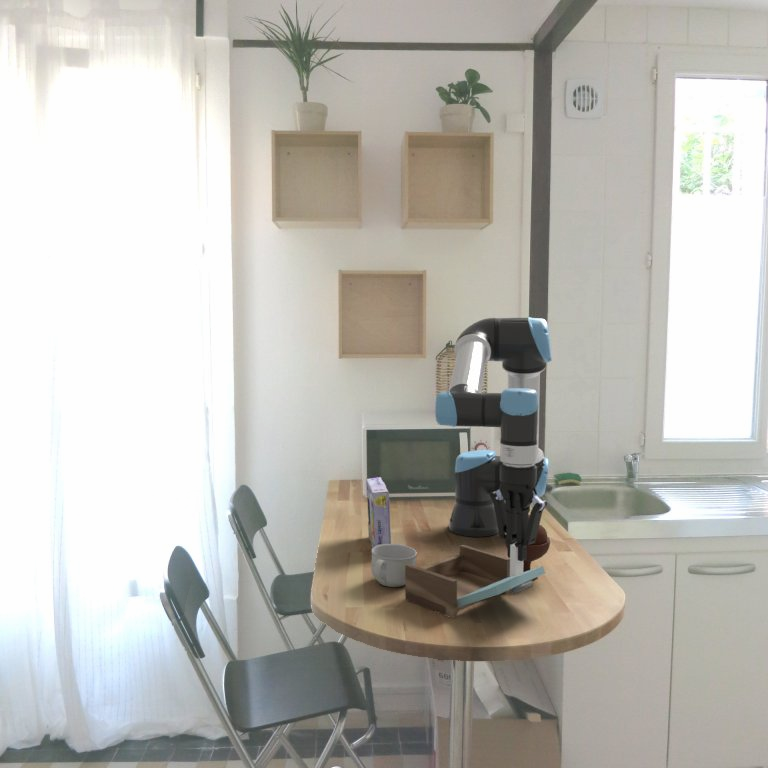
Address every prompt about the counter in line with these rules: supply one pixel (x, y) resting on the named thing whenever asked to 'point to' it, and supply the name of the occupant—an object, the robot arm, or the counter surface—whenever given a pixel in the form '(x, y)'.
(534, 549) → the ice cream bowl
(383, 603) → the counter surface
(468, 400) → the robot arm
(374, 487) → the cake pan box
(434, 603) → the drawer box
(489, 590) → the pale blue slab
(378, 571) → the teacup
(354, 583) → the counter surface
